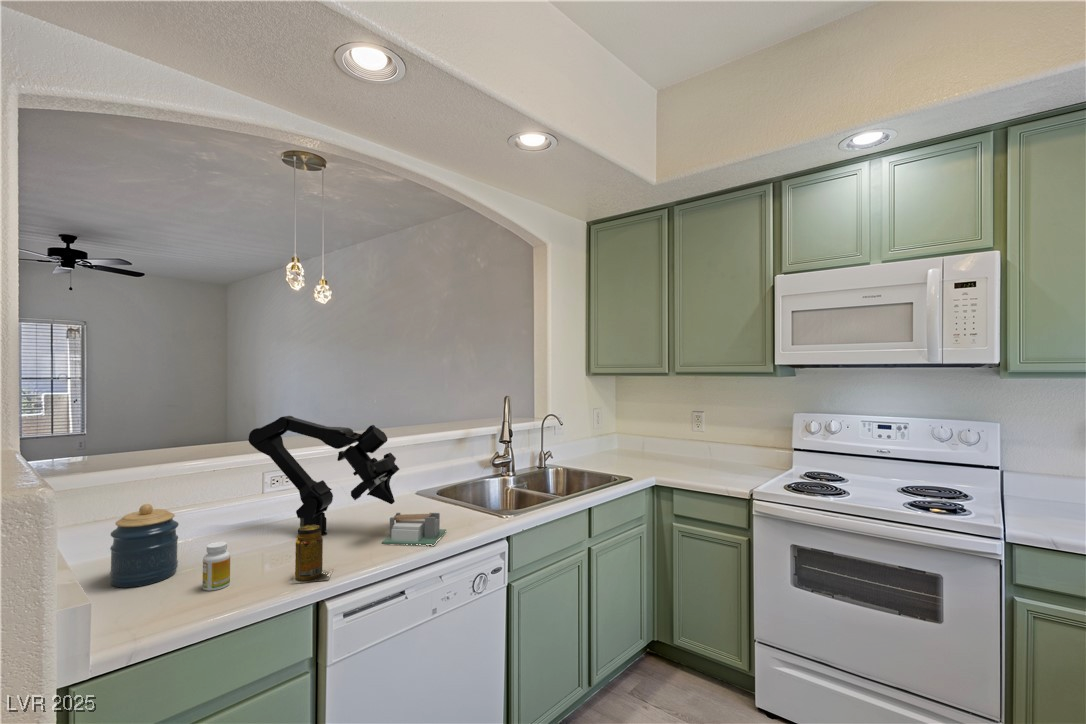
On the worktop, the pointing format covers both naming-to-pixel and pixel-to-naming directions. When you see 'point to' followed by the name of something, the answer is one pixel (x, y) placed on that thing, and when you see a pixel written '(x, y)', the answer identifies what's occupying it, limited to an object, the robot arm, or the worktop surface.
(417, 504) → the worktop surface
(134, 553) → the canister
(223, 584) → the supplement bottle
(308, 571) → the condiment
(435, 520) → the circuit board module
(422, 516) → the brown thin bar
